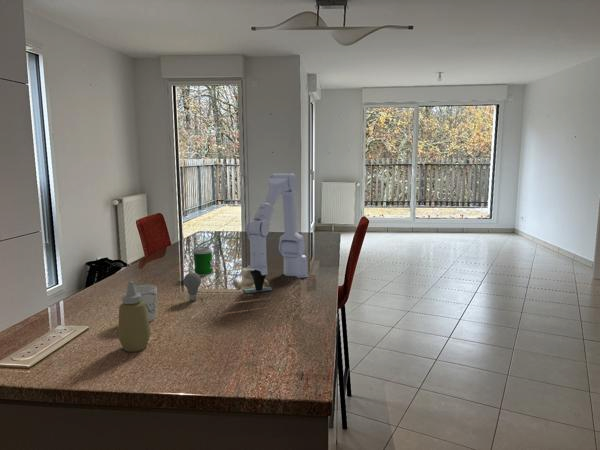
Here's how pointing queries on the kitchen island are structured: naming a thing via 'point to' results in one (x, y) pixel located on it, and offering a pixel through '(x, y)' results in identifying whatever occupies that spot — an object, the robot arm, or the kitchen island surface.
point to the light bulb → (192, 284)
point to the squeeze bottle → (133, 321)
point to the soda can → (203, 261)
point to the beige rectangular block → (247, 276)
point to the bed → (242, 285)
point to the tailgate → (257, 291)
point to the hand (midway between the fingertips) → (258, 290)
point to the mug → (148, 299)
